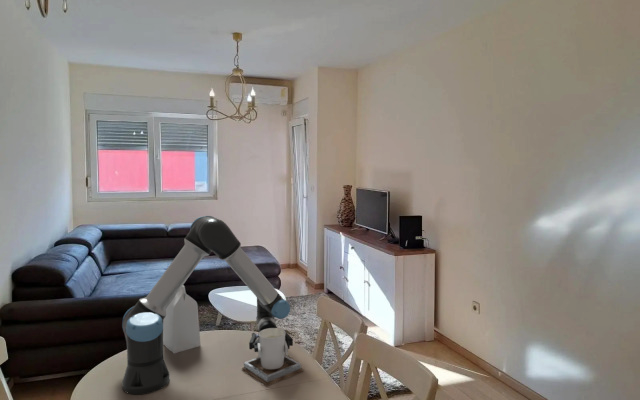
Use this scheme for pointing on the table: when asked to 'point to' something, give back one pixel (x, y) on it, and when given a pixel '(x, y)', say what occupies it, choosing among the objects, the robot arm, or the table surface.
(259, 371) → the grey square frame
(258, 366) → the walnut plate
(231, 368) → the table surface
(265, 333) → the candle holder
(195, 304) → the milk
